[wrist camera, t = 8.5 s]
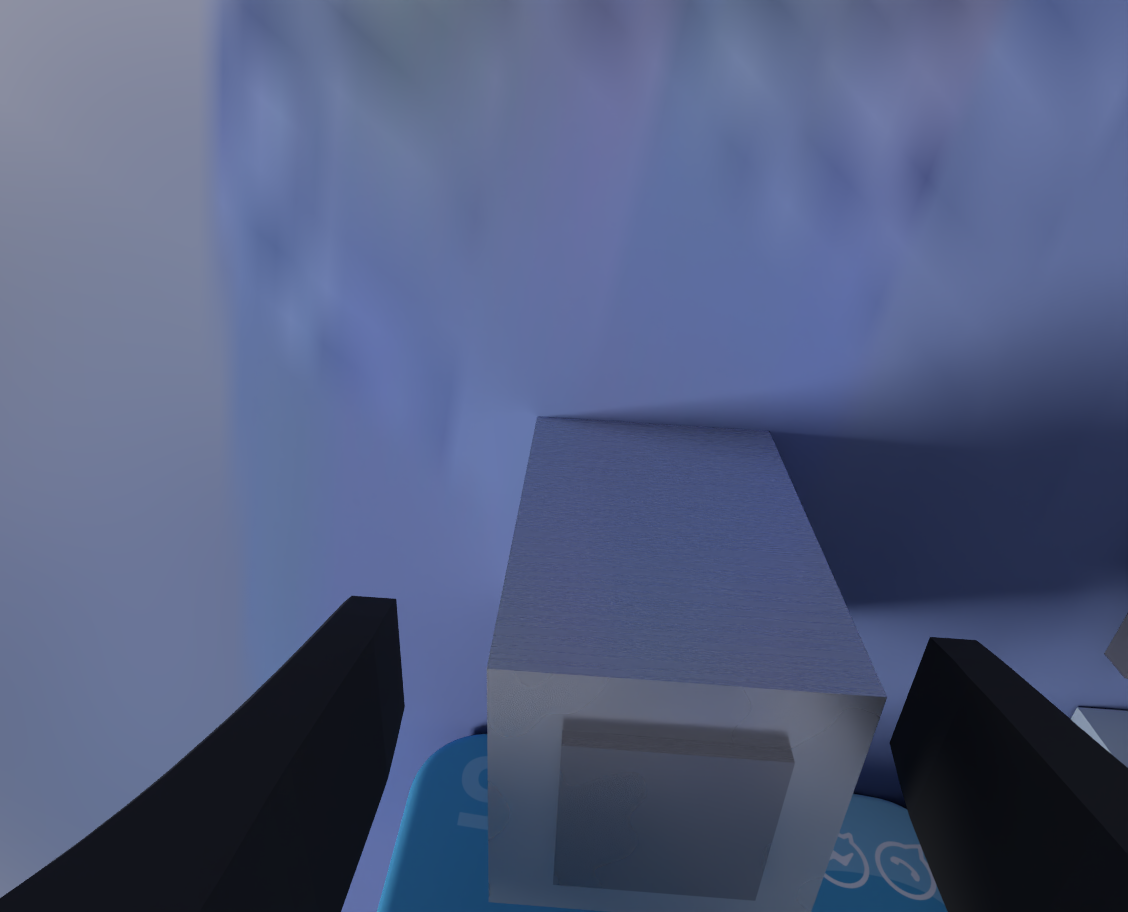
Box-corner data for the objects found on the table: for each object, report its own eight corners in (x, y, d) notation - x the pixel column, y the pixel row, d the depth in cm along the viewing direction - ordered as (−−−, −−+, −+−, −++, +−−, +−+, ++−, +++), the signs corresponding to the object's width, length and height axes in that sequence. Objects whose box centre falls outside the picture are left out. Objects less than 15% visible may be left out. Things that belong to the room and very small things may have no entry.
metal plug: (733, 611, 14) (810, 943, 9) (531, 597, 15) (486, 919, 9) (769, 430, 13) (894, 713, 7) (536, 416, 13) (483, 683, 7)
